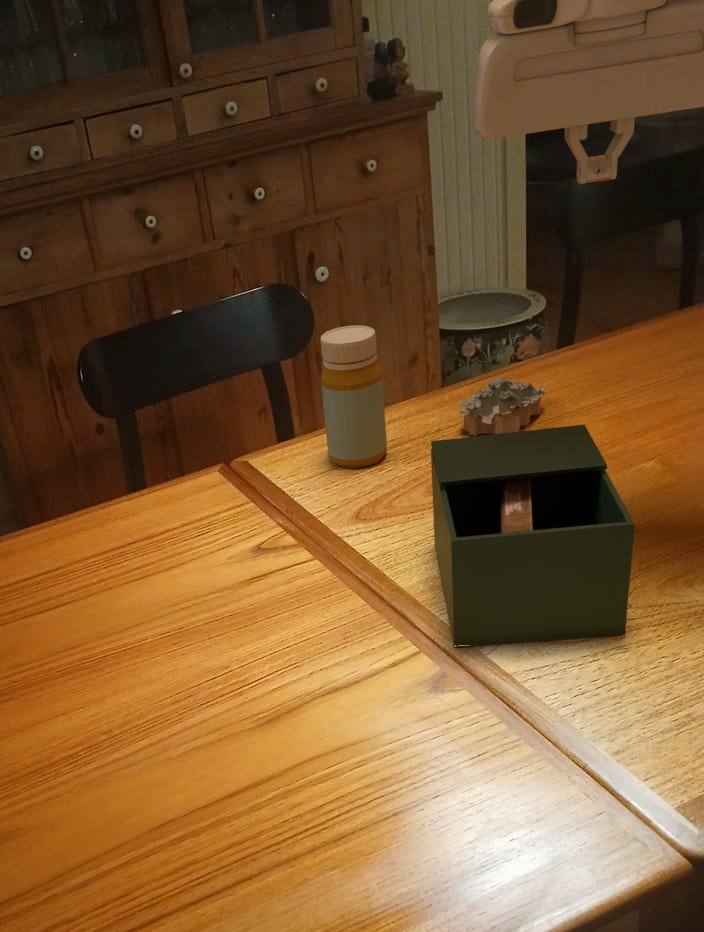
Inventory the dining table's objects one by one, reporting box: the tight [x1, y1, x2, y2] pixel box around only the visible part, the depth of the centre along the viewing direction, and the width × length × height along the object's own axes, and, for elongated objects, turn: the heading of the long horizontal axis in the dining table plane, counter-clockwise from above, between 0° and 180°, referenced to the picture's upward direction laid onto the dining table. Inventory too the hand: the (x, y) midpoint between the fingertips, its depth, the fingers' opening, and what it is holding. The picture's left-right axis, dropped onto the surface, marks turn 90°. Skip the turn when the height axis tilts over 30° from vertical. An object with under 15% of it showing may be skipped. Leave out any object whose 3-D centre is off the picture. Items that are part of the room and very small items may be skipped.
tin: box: [501, 477, 533, 533], centre depth 88 cm, size 15×3×8 cm, turn 167°
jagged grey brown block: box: [459, 375, 546, 437], centre depth 120 cm, size 11×8×4 cm
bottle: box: [320, 325, 388, 469], centre depth 115 cm, size 7×7×15 cm
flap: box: [430, 424, 608, 486], centre depth 88 cm, size 14×9×1 cm, turn 85°
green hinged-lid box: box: [430, 448, 636, 647], centre depth 88 cm, size 14×18×10 cm
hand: (596, 180), depth 83 cm, fingers closed
